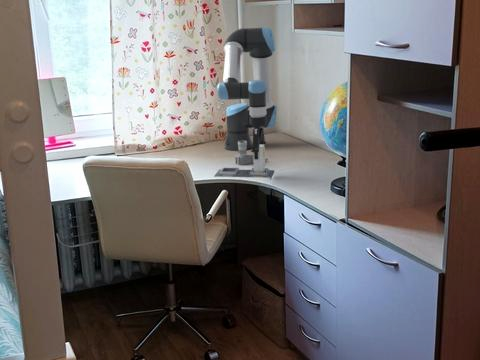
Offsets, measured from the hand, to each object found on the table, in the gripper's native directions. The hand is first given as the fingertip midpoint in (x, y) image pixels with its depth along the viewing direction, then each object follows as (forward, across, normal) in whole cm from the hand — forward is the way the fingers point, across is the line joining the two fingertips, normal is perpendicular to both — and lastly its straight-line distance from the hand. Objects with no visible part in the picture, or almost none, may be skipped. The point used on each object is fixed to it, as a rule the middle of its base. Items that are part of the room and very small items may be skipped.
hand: (259, 162), depth 289 cm
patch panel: (+6, 0, -7) cm, 9 cm away
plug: (+5, 0, 0) cm, 5 cm away
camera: (+7, -20, -8) cm, 23 cm away
